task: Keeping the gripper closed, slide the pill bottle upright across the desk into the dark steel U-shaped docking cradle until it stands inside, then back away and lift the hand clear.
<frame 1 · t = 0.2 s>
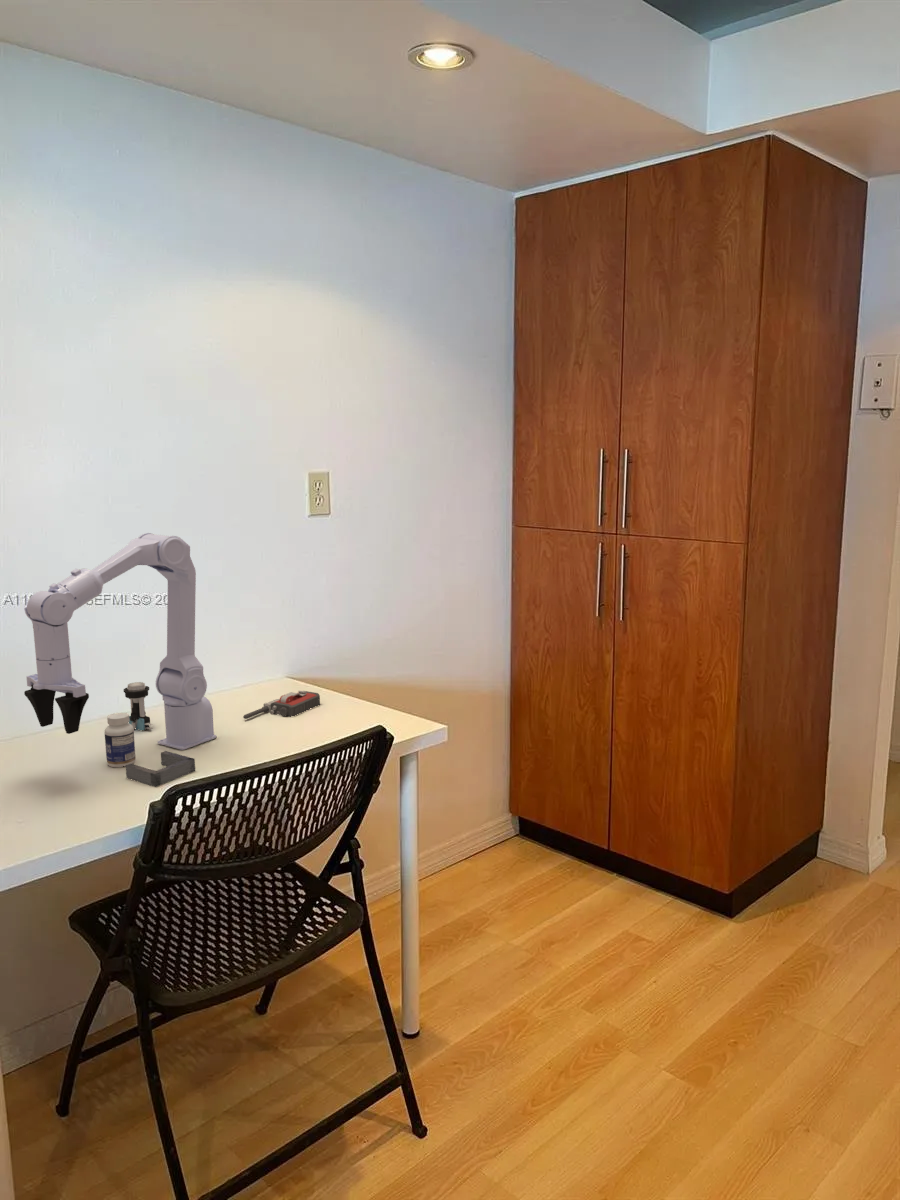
hand: (59, 728, 166), 10 cm above the table, tool pointing down, fingers open, 7 cm apart
walkie-talkie: (284, 714, 210), on the table
docking socket: (159, 773, 171), on the table
push button: (141, 729, 197), on the table
pill bottle: (121, 764, 177), on the table
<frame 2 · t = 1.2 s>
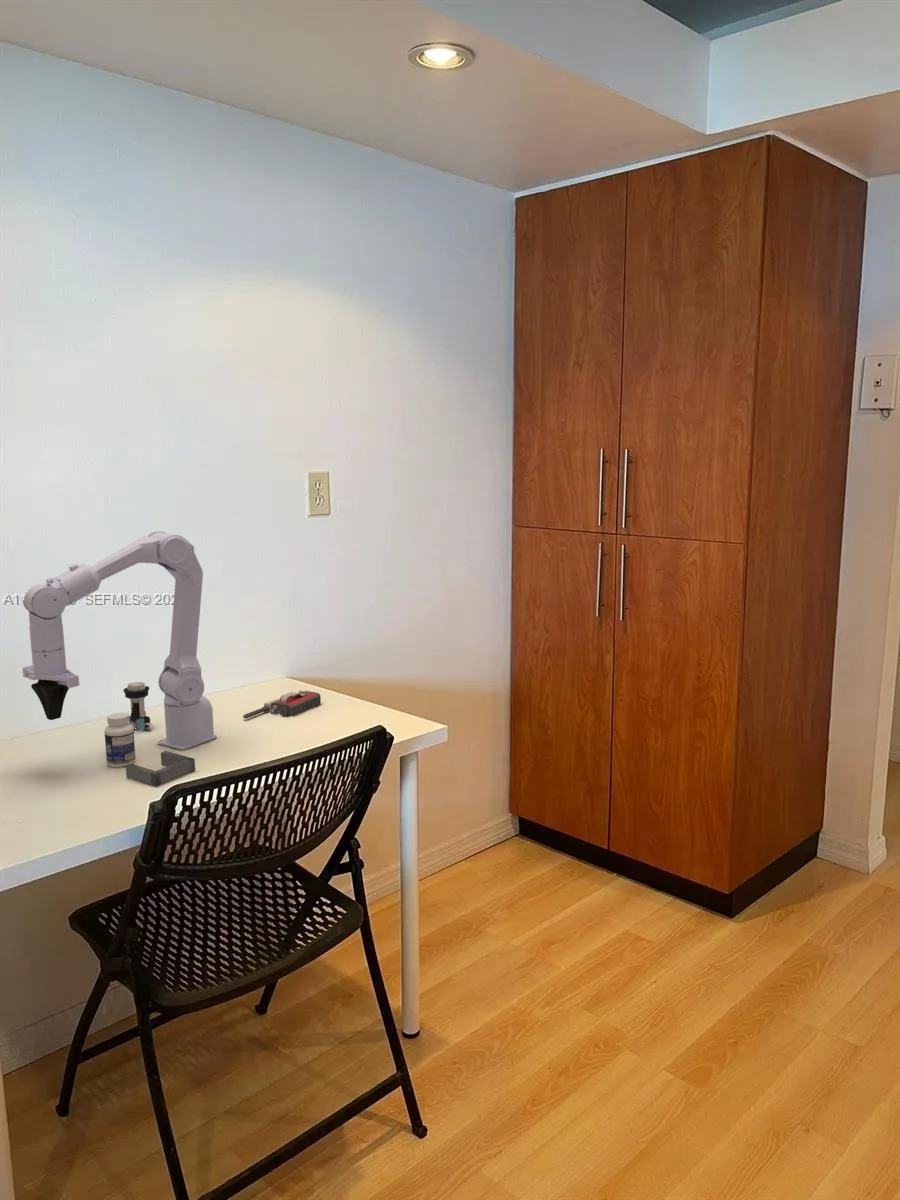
hand: (54, 718, 171), 10 cm above the table, tool pointing down, fingers closed
nothing on the table moved.
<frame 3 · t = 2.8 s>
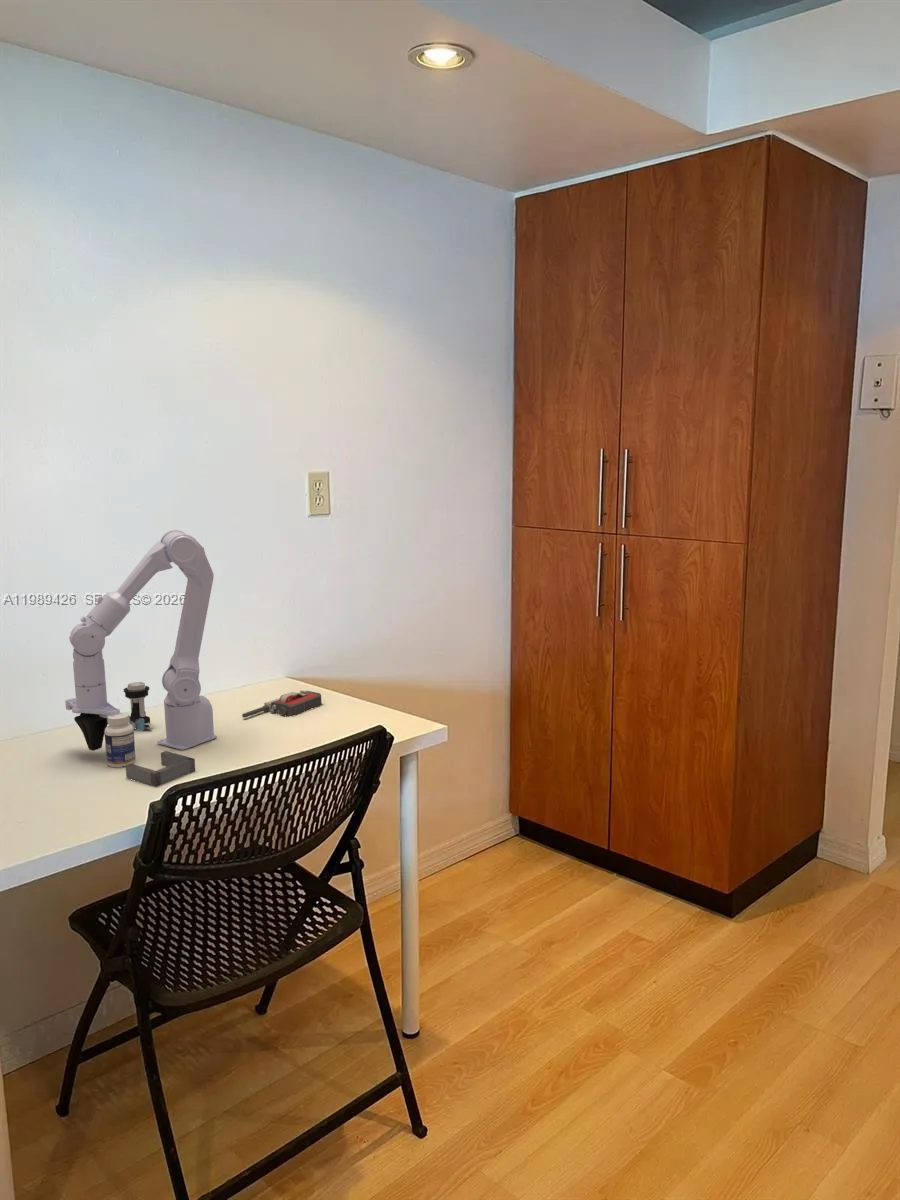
hand: (95, 748, 181), 1 cm above the table, tool pointing down, fingers closed
nothing on the table moved.
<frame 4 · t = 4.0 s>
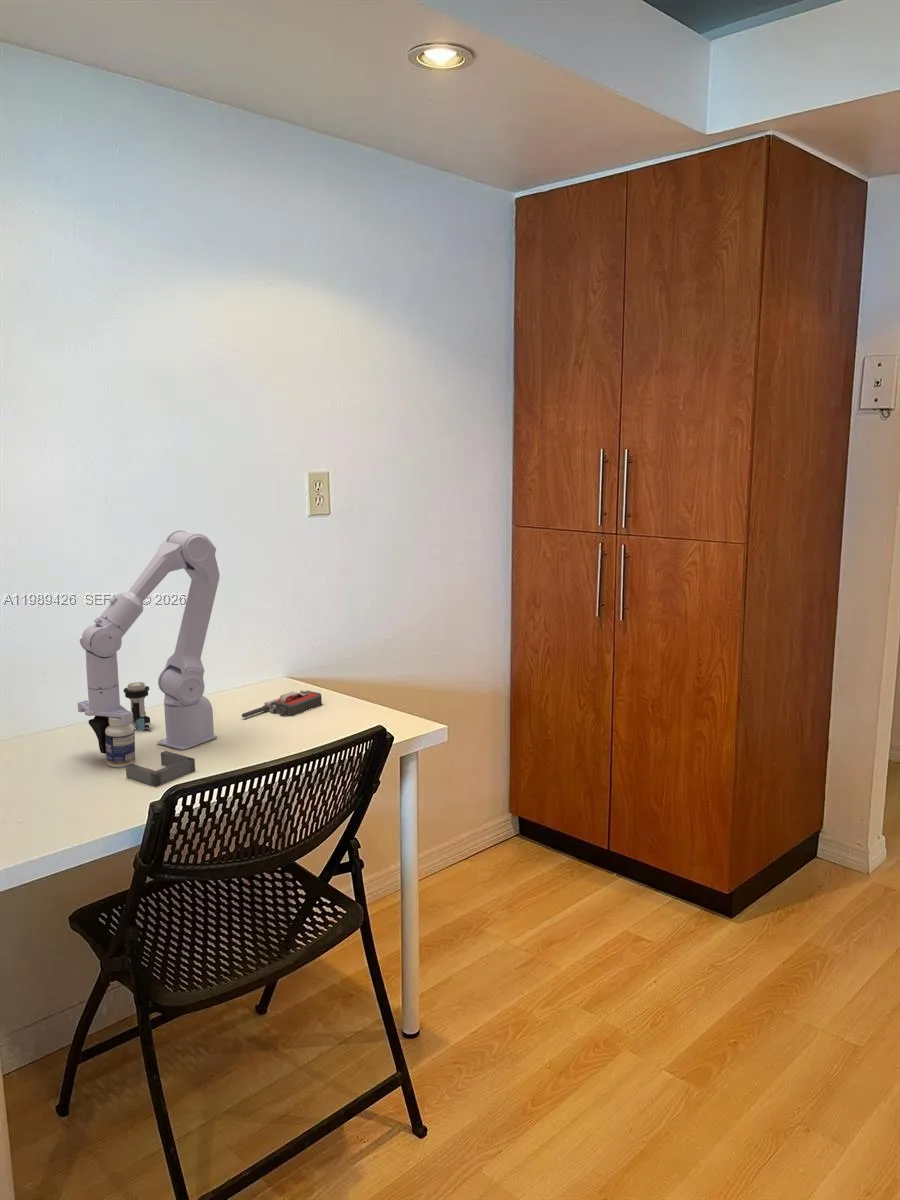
hand: (107, 752, 178), 2 cm above the table, tool pointing down, fingers closed, pressing on pill bottle
pill bottle: (121, 763, 177), on the table, touching gripper
everything else where it was.
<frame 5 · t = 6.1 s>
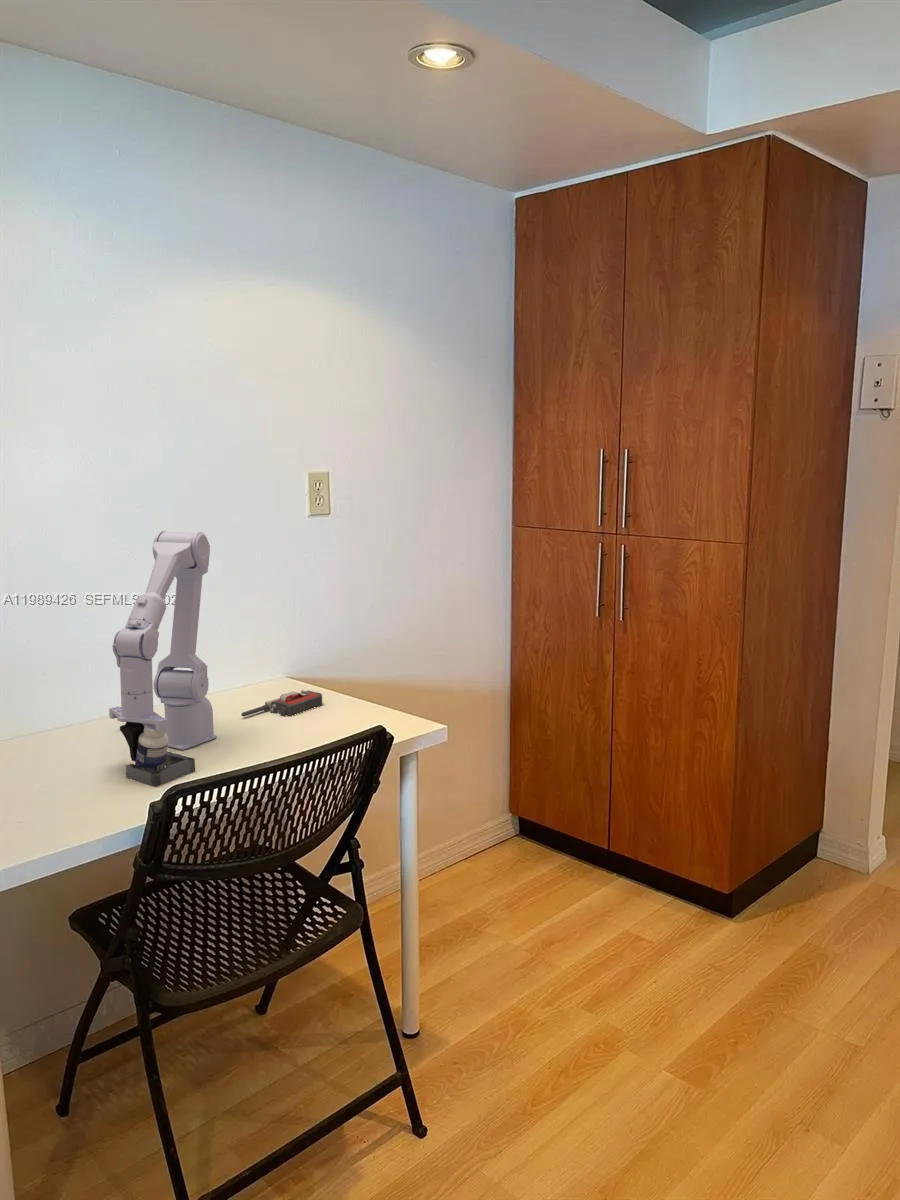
hand: (139, 760, 172), 2 cm above the table, tool pointing down, fingers closed, pressing on pill bottle
pill bottle: (148, 771, 172), on the table, touching gripper
everything else where it was.
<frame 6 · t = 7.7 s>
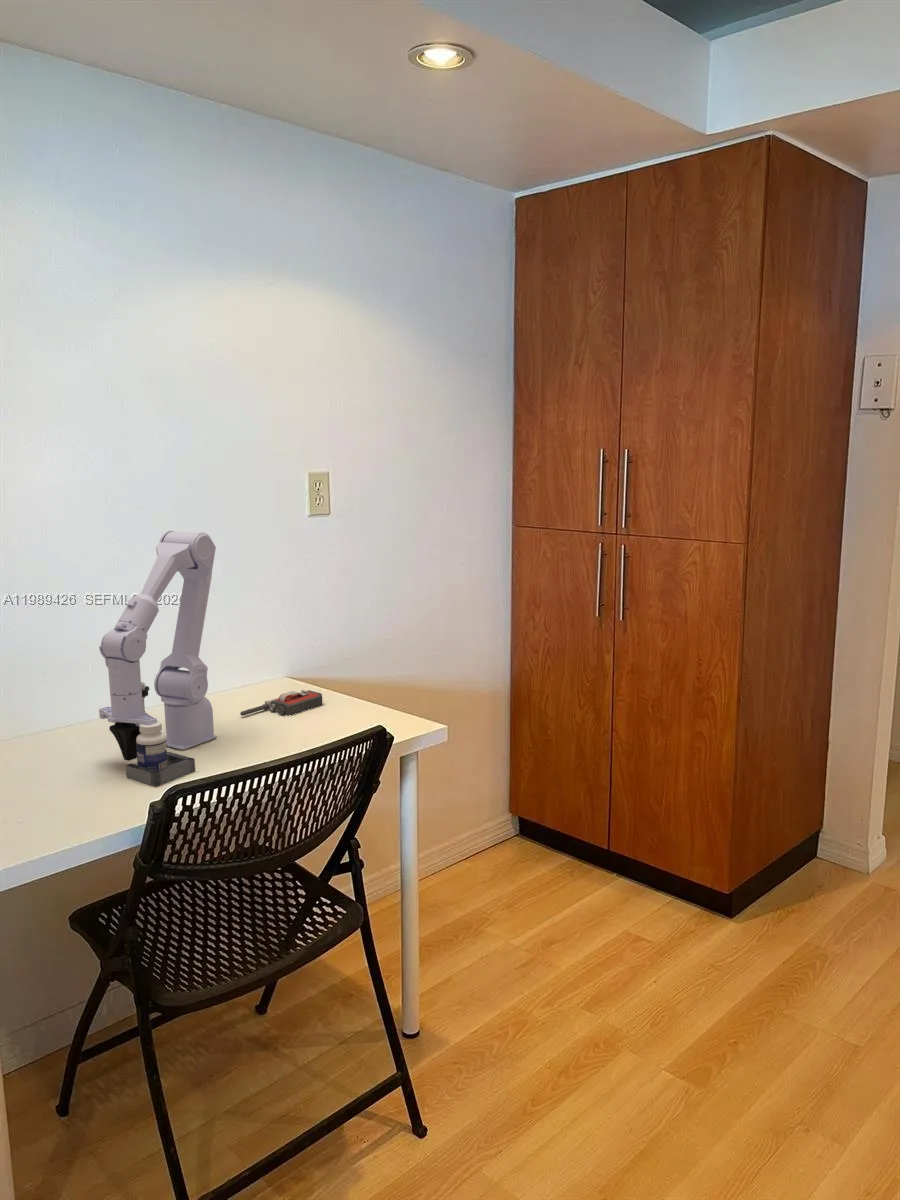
hand: (130, 758, 175), 1 cm above the table, tool pointing down, fingers closed
pill bottle: (152, 773, 172), on the table
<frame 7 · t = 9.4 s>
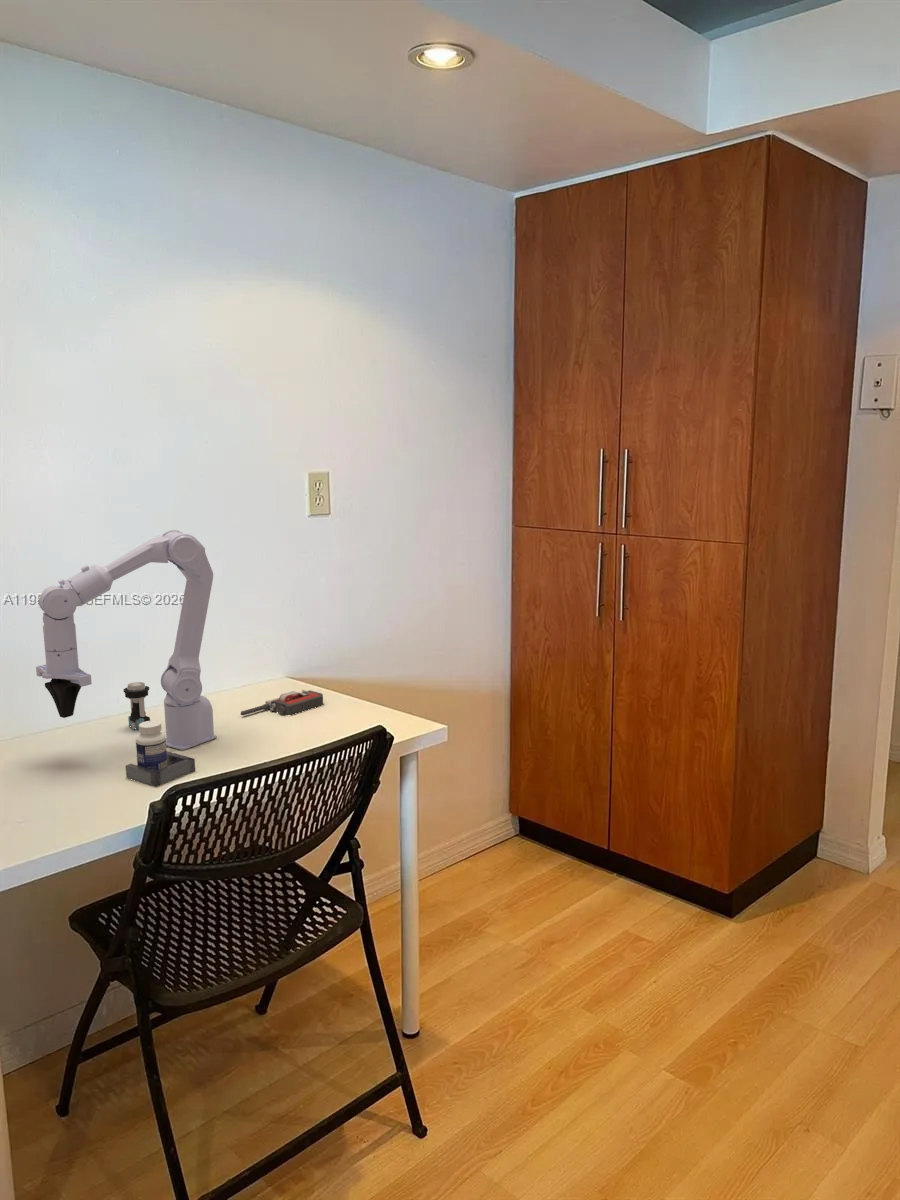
hand: (66, 716, 176), 9 cm above the table, tool pointing down, fingers closed
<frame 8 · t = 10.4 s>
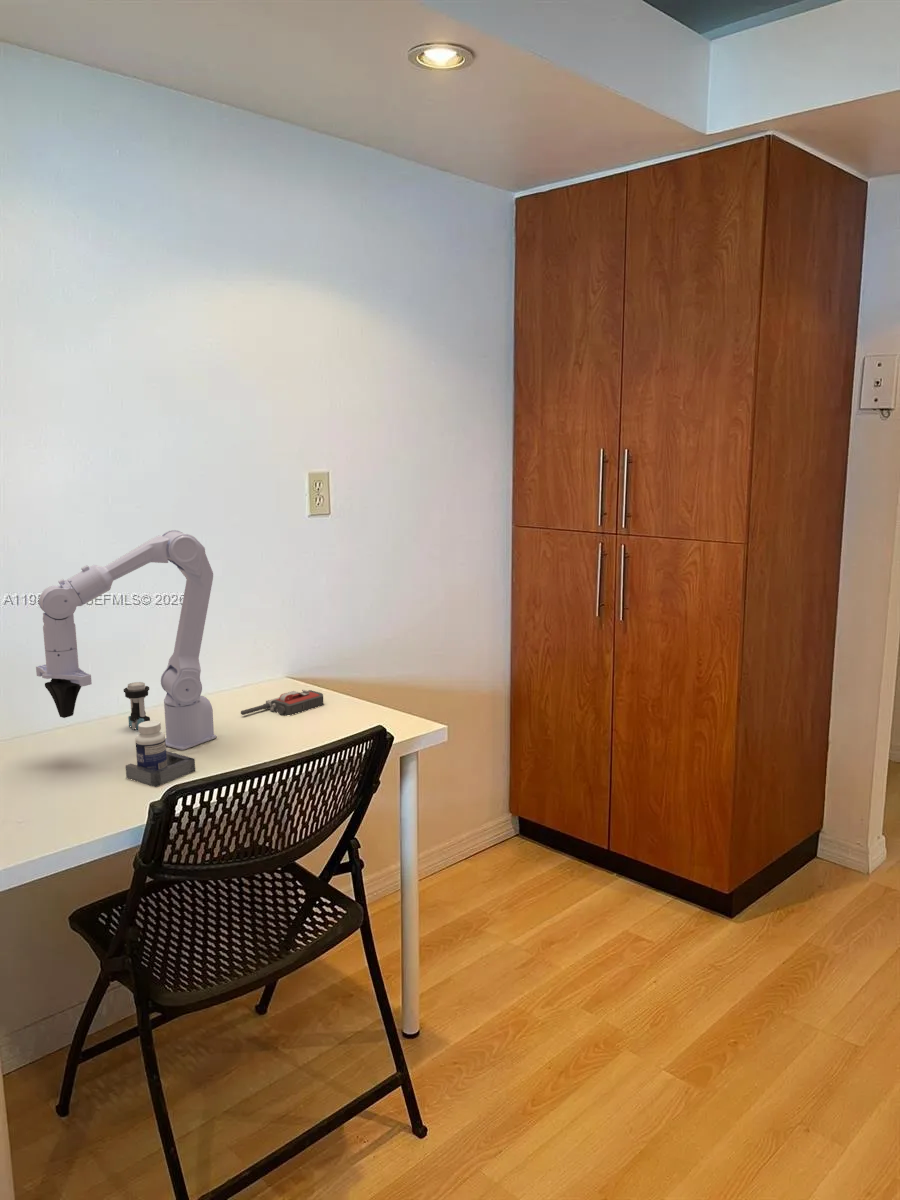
hand: (66, 716, 176), 9 cm above the table, tool pointing down, fingers closed
at the end: pill bottle 1.9 cm off-centre on the docking socket, point 0.0 cm above the docking socket's base; pill bottle tilted 1° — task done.
